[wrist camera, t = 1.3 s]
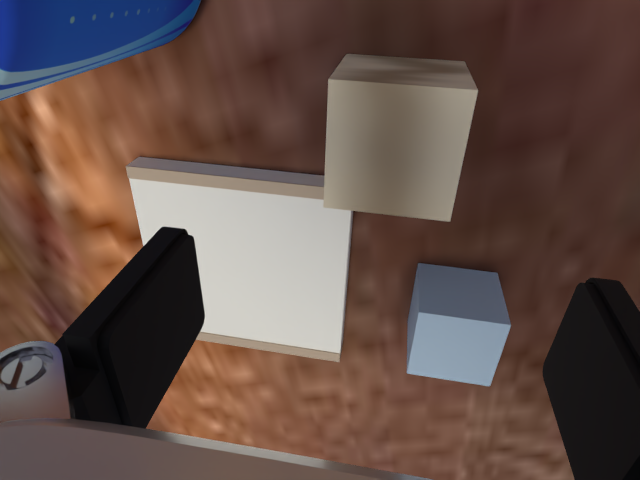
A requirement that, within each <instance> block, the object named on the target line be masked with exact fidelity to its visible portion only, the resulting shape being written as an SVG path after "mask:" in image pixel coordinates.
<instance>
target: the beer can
mask: <svg viewBox="0 0 640 480" xmlns="http://www.w3.org/2000/svg"><path fill="white" fill-rule="evenodd" d="M200 2H201V0H0V101H1V100H4V99H7V98H10V97H13V96H16V95H19V94H22V93H25V92H27V91H30V90H33V89H36V88H39V87H42V86H45V85H48V84H51V83H54V82H57V81H60V80H63V79H65V78H68V77H71V76H74V75H77V74H80V73H83V72H86V71H89V70H92V69H95V68H98V67H101V66H103V65H106V64H109V63H112V62H115V61H118V60H121V59H124V58H127V57H130V56H133V55H136V54H139V53H141V52H144V51H147V50H150V49H153V48H156V47H159V46H162V45H164V44H166V43H168V42H170V41H172V40H174V39H175V38H176V37H178V36H179V35H180V34H181V33H182V32H183V31H184V30H185V29H186V28H187V26H188V25H189V24H190V23H191V21H192V19H193V18H194V16H195V14H196V12H197V10H198V7H199V4H200Z"/></svg>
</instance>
